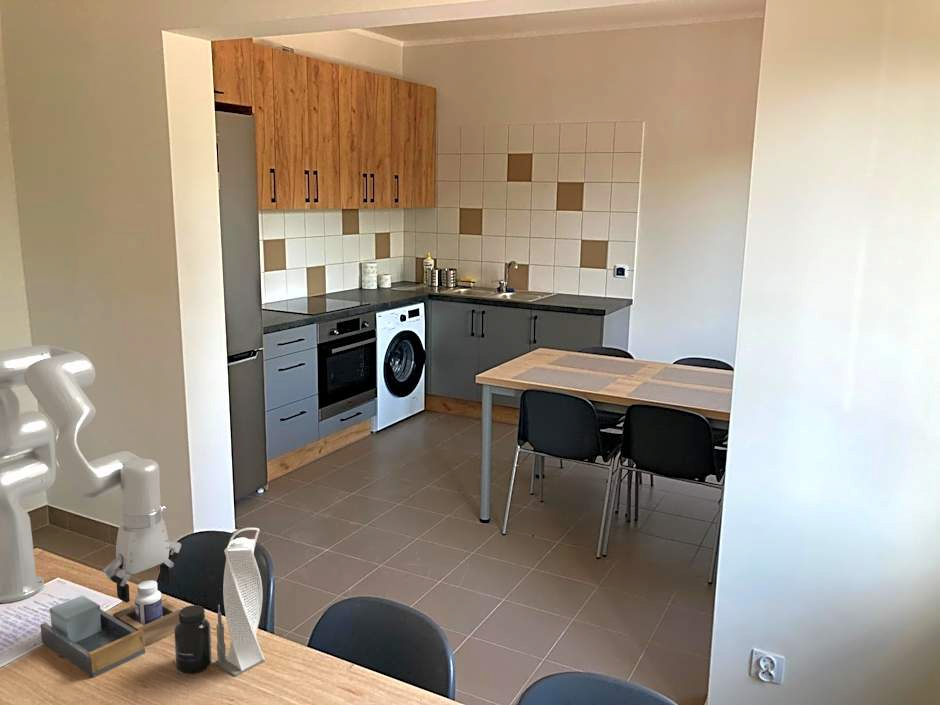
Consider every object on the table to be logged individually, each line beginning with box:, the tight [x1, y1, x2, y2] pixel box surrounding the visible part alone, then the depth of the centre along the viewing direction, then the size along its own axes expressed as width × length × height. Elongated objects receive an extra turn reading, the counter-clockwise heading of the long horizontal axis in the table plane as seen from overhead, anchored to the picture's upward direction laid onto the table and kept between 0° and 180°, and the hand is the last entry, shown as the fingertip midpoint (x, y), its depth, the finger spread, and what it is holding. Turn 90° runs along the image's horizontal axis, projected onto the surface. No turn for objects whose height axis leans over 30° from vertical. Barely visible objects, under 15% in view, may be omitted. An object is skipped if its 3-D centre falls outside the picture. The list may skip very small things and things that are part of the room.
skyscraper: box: [215, 527, 266, 677], centre depth 154 cm, size 8×8×28 cm
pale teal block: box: [48, 595, 101, 642], centre depth 164 cm, size 7×7×6 cm
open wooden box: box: [112, 599, 181, 648], centre depth 169 cm, size 14×10×4 cm
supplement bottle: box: [173, 604, 213, 675], centre depth 154 cm, size 7×7×12 cm
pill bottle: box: [134, 579, 163, 625], centre depth 167 cm, size 5×5×10 cm
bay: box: [39, 608, 146, 678], centre depth 161 cm, size 21×11×5 cm, turn 53°
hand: (145, 591), depth 166 cm, fingers open, 9 cm apart
